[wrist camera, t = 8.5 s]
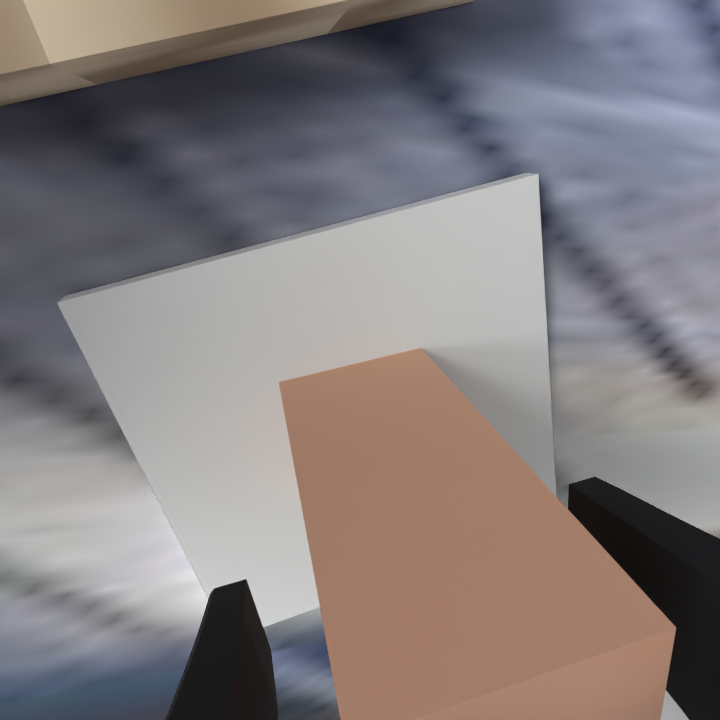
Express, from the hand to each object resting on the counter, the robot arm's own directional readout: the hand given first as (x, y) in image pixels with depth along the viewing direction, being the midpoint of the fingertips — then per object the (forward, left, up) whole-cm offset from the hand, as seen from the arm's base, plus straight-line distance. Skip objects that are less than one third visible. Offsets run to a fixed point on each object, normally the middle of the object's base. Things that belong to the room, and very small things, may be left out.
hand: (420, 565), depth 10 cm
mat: (0, 0, -6) cm, 6 cm away
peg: (0, 0, -5) cm, 5 cm away
